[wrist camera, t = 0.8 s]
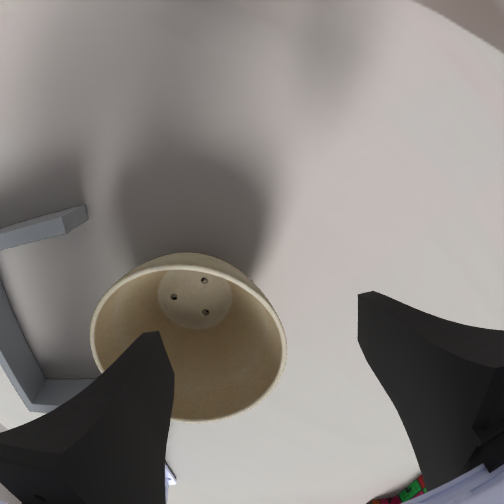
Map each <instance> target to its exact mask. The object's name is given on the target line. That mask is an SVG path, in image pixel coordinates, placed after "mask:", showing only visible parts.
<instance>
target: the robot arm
mask: <svg viewBox="0 0 504 504" xmlns="http://www.w3.org/2000/svg"><path fill="white" fill-rule="evenodd" d="M358 342H359V344H360V347H361V349H362V352H363V354H364V356H365V358H366V360H367V362H368V364H369V365H370V367H371V369H372V370H373V372H374V373H375V375H376V377H377V378H378V380H379V381H380V383H381V385H382V386H383V388H384V389H385V391H386V393H387V394H388V396H389V397H390V399H391V401H392V402H393V404H394V406H395V408H396V409H397V411H398V413H399V416H400V418H401V420H402V422H403V425H404V427H405V429H406V431H407V434H408V436H409V439H410V442H411V444H412V447H413V449H414V452H415V455H416V458H417V461H418V464H419V467H420V470H421V473H422V476H423V480H424V483H425V487H426V491H427V493H425V494H422V495H420V496H418V497H416V498H413V499H411V500H408V501H406V502H403V503H401V504H504V331H503V330H492V329H485V328H479V327H473V326H468V325H463V324H460V323H456V322H452V321H448V320H445V319H442V318H439V317H436V316H433V315H431V314H428V313H425V312H423V311H420V310H418V309H415V308H413V307H410V306H408V305H406V304H403V303H401V302H399V301H397V300H394V299H392V298H390V297H388V296H385V295H383V294H380V293H378V292H375V291H371V292H367V293H362V294H358ZM174 387H175V373H174V371H173V368H172V366H171V363H170V360H169V358H168V355H167V352H166V349H165V347H164V344H163V341H162V338H161V335H160V333H159V331H153V332H145V333H142V334H141V335H140V336H139V337H138V338H137V339H136V340H135V341H134V342H133V343H132V344H131V345H130V346H129V347H128V348H127V349H126V350H125V351H124V352H123V353H122V354H121V355H120V356H119V357H118V358H117V359H116V361H115V362H114V363H113V364H112V365H111V366H109V367H108V368H107V369H106V370H105V371H104V372H103V373H102V374H101V375H100V376H99V377H98V378H97V379H96V380H94V381H93V382H92V383H91V384H90V385H89V386H87V387H86V388H85V389H84V390H82V391H81V392H80V393H78V394H77V395H76V396H74V397H73V398H71V399H70V400H68V401H67V402H65V403H64V404H62V405H60V406H59V407H57V408H56V409H54V410H52V411H51V412H49V413H47V414H45V415H43V416H41V417H39V418H37V419H35V420H33V421H31V422H28V423H26V424H24V425H21V426H18V427H16V428H13V429H10V430H8V431H5V432H1V433H0V483H1V484H2V485H4V486H5V487H6V488H7V489H8V490H9V491H10V492H11V493H12V494H13V495H14V496H15V497H17V498H18V499H19V500H20V501H21V502H22V504H167V499H168V487H169V485H175V484H177V480H176V479H175V477H174V476H173V474H172V473H171V471H170V470H169V468H168V467H167V465H166V464H165V454H166V444H167V438H168V432H169V426H170V419H171V413H172V407H173V401H174ZM0 504H9V503H6V502H3V501H1V500H0Z"/></svg>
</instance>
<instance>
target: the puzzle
mask: <svg viewBox="0 0 504 504" xmlns="http://www.w3.org/2000/svg"><path fill="white" fill-rule="evenodd" d="M425 493H427V491H426V487H425V483H424V480H423V476H422V475H421V476H420V477H419V478H417V479H416V480H415V481H414V482H413V483H412V484H411V485H409V486H408V487H407V488H406V489H405V490H403V491H402V492H401V493H400V494H399V495H397V496H396V497H394V498H387V499H378V500H371V501H370V502H368V503H367V504H401V503H403V502H406V501H408V500H411V499H413V498H416V497H418V496H420V495H422V494H425Z"/></svg>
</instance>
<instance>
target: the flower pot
mask: <svg viewBox="0 0 504 504" xmlns="http://www.w3.org/2000/svg"><path fill="white" fill-rule="evenodd" d="M203 277H204V280H203V281H201V279H202V278H203ZM173 297H176V298H177V299H172V298H173ZM206 310H208V312H207V311H206ZM153 331H159V333H160V335H161V338H162V341H163V344H164V347H165V349H166V352H167V355H168V358H169V360H170V363H171V366H172V368H173V371H174V373H175V387H174V401H173V407H172V413H171V419H170V420H173V421H178V422H185V423H186V422H188V423H205V422H214V421H219V420H223V419H227V418H230V417H233V416H236V415H239V414H241V413H243V412H245V411H247V410H249V409H251V408H252V407H254V406H255V405H257V404H258V403H259V402H261V401H262V400H263V399H264V398H265V397H266V396H268V394H269V393H270V392H271V391H272V390H273V388H274V387H275V386H276V384H277V383H278V381H279V379H280V377H281V375H282V373H283V370H284V367H285V364H286V356H287V342H286V336H285V332H284V329H283V326H282V324H281V322H280V319H279V317H278V315H277V314H276V312H275V310H274V309H273V307H272V305H271V304H270V302H269V301H268V299H267V298H266V297H265V295H264V294H263V293H262V291H261V290H260V289H259V288H258V287H257V286H256V285H255V284H254V283H253V282H252V281H251V280H250V279H249V278H248V277H247V276H246V275H245V274H243V273H242V272H241V271H239V270H238V269H237V268H235V267H233V266H232V265H230V264H228V263H227V262H225V261H222V260H220V259H218V258H215V257H212V256H209V255H205V254H199V253H174V254H169V255H165V256H161V257H158V258H155V259H153V260H150V261H148V262H146V263H144V264H142V265H140V266H138V267H136V268H135V269H133V270H131V271H130V272H128V273H127V274H126V275H124V276H123V277H122V278H121V279H119V280H118V281H117V282H116V283H115V284H114V285H113V286H112V287H111V288H110V289H109V290H108V291H107V292H106V293H105V294H104V296H103V297H102V298H101V300H100V301H99V303H98V305H97V307H96V309H95V311H94V313H93V316H92V320H91V325H90V346H91V351H92V354H93V357H94V360H95V363H96V364H97V367H98V369H99V370H100V372H101V374H102V373H103V372H104V371H105V370H106V369H107V368H108V367H109V366H111V365H112V364H113V363H114V362H115V361H116V359H117V358H118V357H119V356H120V355H121V354H122V353H123V352H124V351H125V350H126V349H127V348H128V347H129V346H130V345H131V344H132V343H133V342H134V341H135V340H136V339H137V338H138V337H139V336H140V335H141V334H142V333H145V332H153Z"/></svg>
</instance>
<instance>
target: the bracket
mask: <svg viewBox="0 0 504 504" xmlns="http://www.w3.org/2000/svg"><path fill="white" fill-rule="evenodd" d="M86 220H88V215H87V211H86V207H85V205H81V206H77V207H73V208H70V209H66V210H62V211H58V212H55V213H51V214H47V215H44V216H40V217H37V218H33V219H30V220H26V221H23V222H20V223H16V224H13V225H10V226H7V227H3V228H0V250H4V249H8V248H12V247H15V246H19V245H23V244H27V243H31V242H35V241H39V240H43V239H47V238H51V237H56V236H60V235H64V234H67V233H68V232H70V231H71V230H73V229H74V228H76V227H77V226H79V225H80V224H82V223H83V222H85V221H86ZM0 364H1V366H2V368H3V370H4V372H5V373H6V375H7V377H8V378H9V380H10V382H11V383H12V385H13V387H14V388H15V390H16V392H17V393H18V395H19V396H20V398H21V399H22V401H23V402H24V404H25V405H26V407H27V408H28V410H29V411H30V412H40V413H49V412H51V411H52V410H54V409H56V408H57V407H59V406H60V405H62V404H64V403H65V402H67V401H68V400H70V399H71V398H73V397H74V396H76V395H77V394H78V393H80V392H81V391H82V390H84V389H85V388H86V387H87V386H89V385H90V384H91V383H92V382H93V381H94V380H96V379H46V378H45V376H44V375H43V373H42V371H41V369H40V367H39V365H38V364H37V362H36V360H35V358H34V356H33V354H32V352H31V350H30V348H29V346H28V344H27V342H26V340H25V338H24V336H23V333H22V331H21V329H20V327H19V325H18V323H17V320H16V318H15V316H14V313H13V311H12V309H11V306H10V304H9V301H8V299H7V296H6V294H5V291H4V289H3V286H2V283H1V280H0Z"/></svg>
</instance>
